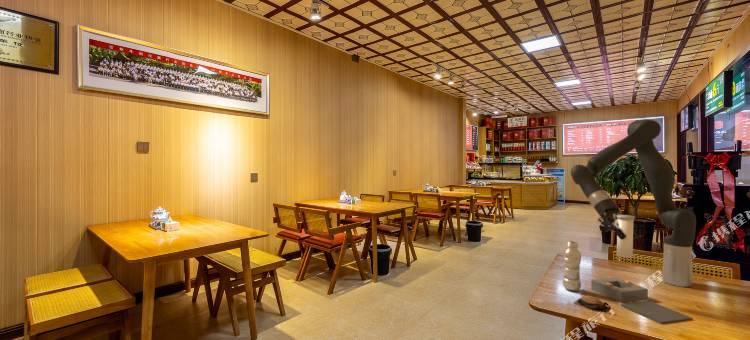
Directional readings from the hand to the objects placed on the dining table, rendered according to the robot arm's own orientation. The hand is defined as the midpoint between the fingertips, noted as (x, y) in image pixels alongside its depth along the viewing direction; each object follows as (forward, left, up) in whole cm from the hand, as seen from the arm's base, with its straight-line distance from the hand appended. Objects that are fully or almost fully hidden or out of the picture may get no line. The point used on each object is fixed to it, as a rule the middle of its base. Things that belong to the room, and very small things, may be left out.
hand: (629, 237), depth 128 cm
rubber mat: (+2, +11, -24) cm, 27 cm away
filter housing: (-1, -5, -24) cm, 24 cm away
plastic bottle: (+14, -12, -24) cm, 31 cm away
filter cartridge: (0, -2, -8) cm, 8 cm away
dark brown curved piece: (+19, +2, -25) cm, 31 cm away
